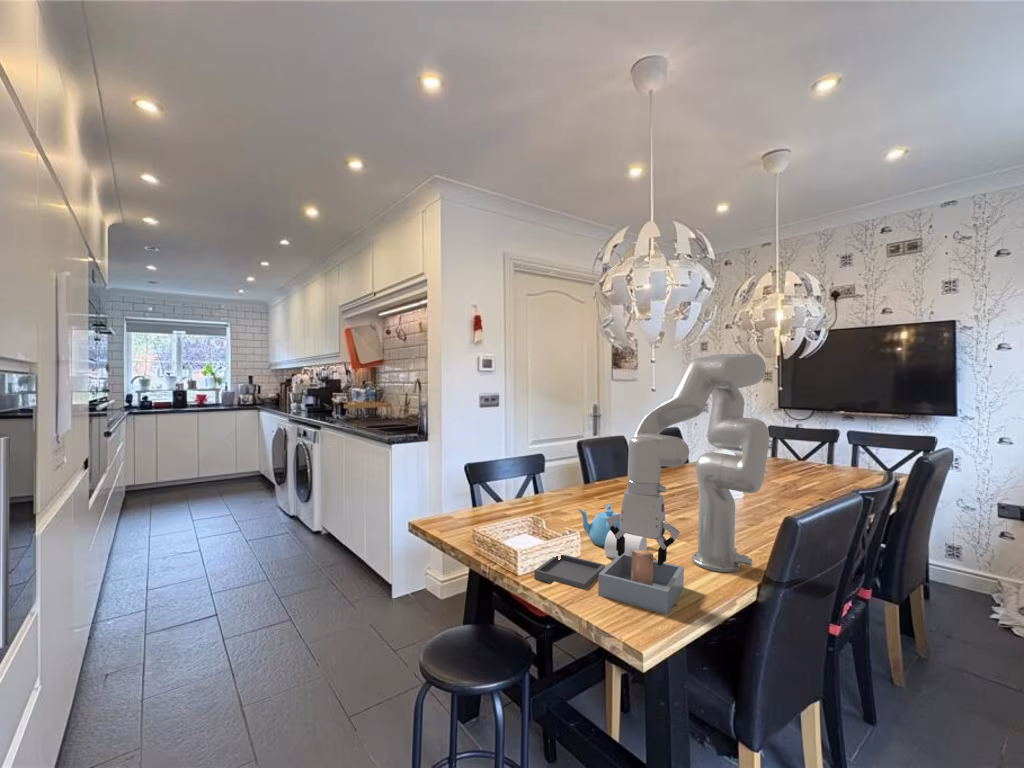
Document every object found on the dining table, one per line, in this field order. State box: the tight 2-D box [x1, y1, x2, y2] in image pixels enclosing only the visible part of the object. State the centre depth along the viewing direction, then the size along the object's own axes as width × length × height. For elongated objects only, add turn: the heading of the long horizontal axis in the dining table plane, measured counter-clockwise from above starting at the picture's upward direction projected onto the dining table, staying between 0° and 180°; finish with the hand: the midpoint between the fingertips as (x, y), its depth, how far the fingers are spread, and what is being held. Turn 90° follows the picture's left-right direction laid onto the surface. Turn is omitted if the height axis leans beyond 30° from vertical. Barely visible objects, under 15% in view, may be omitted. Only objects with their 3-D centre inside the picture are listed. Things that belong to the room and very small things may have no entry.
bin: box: [597, 554, 685, 615], centre depth 110 cm, size 16×16×6 cm
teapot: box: [577, 503, 620, 548], centre depth 146 cm, size 15×15×10 cm
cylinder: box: [631, 550, 654, 586], centre depth 110 cm, size 5×5×9 cm
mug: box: [604, 530, 648, 560], centre depth 132 cm, size 12×10×8 cm
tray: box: [533, 554, 606, 590], centre depth 120 cm, size 14×14×2 cm
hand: (640, 559), depth 110 cm, fingers open, 9 cm apart
